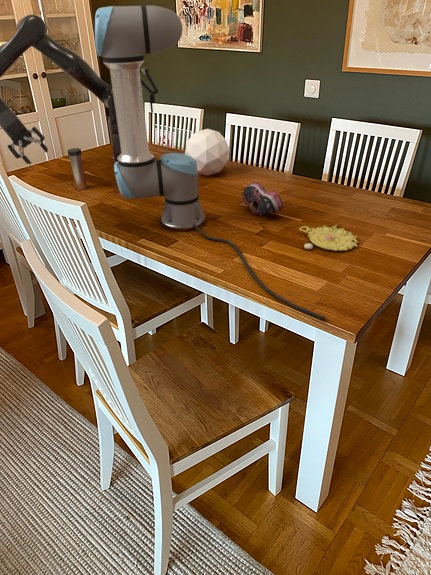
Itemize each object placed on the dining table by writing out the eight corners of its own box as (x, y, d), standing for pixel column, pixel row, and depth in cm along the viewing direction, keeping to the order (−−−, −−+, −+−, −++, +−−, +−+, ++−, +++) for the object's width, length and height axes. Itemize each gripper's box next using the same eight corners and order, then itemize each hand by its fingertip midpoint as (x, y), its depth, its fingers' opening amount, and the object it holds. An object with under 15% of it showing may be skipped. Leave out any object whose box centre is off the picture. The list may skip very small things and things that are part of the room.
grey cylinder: (88, 186, 190) (81, 149, 182) (85, 189, 187) (78, 152, 178) (77, 186, 190) (70, 149, 182) (75, 190, 187) (67, 152, 178)
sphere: (213, 191, 200) (211, 164, 181) (179, 169, 205) (173, 141, 186) (238, 162, 205) (238, 133, 186) (203, 141, 209) (200, 111, 191)
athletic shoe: (254, 181, 170) (227, 189, 167) (283, 176, 151) (253, 185, 147) (260, 210, 173) (234, 218, 170) (290, 209, 154) (261, 219, 150)
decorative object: (343, 255, 128) (285, 234, 139) (342, 262, 130) (284, 241, 140) (372, 230, 142) (317, 213, 152) (371, 237, 143) (316, 219, 153)
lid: (82, 152, 183) (82, 147, 182) (79, 155, 178) (79, 151, 178) (70, 152, 183) (69, 148, 182) (66, 156, 178) (65, 151, 177)
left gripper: (26, 112, 179) (53, 146, 187) (-2, 132, 180) (26, 165, 188) (23, 113, 173) (51, 149, 180) (-6, 134, 174) (23, 169, 181)
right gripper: (160, 52, 174) (165, 109, 185) (95, 55, 171) (104, 113, 182) (161, 54, 167) (166, 113, 179) (94, 56, 165) (103, 116, 176)
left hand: (38, 157), depth 184 cm, fingers open, 8 cm apart
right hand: (135, 113), depth 181 cm, fingers open, 13 cm apart
